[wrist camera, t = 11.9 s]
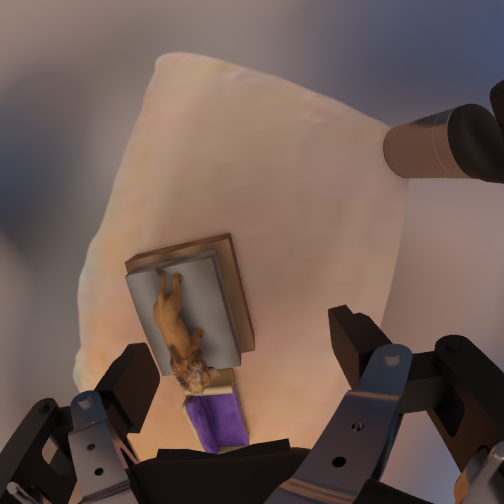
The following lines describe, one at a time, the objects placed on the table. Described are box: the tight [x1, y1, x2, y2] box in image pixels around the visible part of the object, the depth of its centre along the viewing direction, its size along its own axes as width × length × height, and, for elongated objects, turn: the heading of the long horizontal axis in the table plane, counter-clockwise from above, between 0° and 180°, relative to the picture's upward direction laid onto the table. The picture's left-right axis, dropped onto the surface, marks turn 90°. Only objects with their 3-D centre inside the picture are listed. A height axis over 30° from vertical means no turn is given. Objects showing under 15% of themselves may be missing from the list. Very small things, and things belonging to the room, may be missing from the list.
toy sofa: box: [182, 369, 249, 454], centre depth 46 cm, size 21×9×10 cm, turn 8°
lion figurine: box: [153, 267, 220, 395], centre depth 31 cm, size 15×5×9 cm, turn 25°
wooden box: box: [125, 233, 255, 376], centre depth 41 cm, size 16×18×10 cm
